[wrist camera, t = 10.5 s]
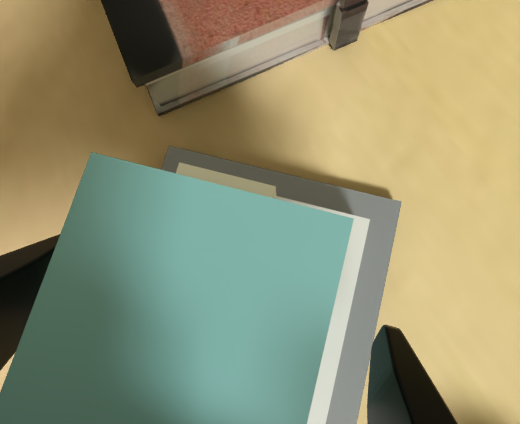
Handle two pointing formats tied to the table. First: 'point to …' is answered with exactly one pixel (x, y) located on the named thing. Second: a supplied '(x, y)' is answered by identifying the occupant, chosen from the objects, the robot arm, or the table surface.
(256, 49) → the book
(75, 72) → the table surface
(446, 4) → the table surface
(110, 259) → the teal rectangular block
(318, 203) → the square socket base
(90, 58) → the table surface
